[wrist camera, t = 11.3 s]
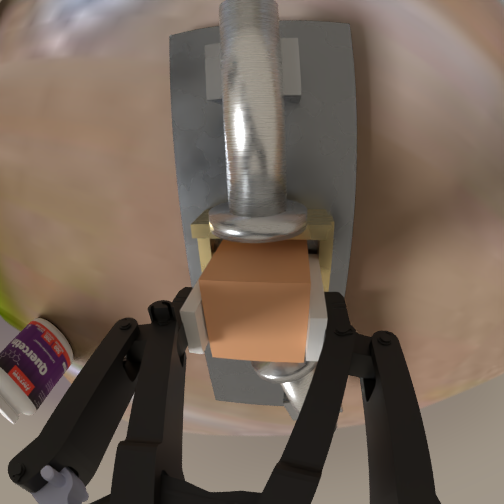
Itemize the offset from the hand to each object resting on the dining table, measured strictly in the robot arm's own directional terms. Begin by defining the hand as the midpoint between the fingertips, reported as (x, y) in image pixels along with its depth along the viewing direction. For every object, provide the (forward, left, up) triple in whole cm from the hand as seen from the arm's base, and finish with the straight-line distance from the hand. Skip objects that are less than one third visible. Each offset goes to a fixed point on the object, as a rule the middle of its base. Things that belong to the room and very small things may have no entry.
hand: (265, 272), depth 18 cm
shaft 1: (-10, 0, 0) cm, 10 cm away
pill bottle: (+13, -29, -2) cm, 32 cm away
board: (0, 0, -2) cm, 2 cm away
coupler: (0, 0, 0) cm, 0 cm away
